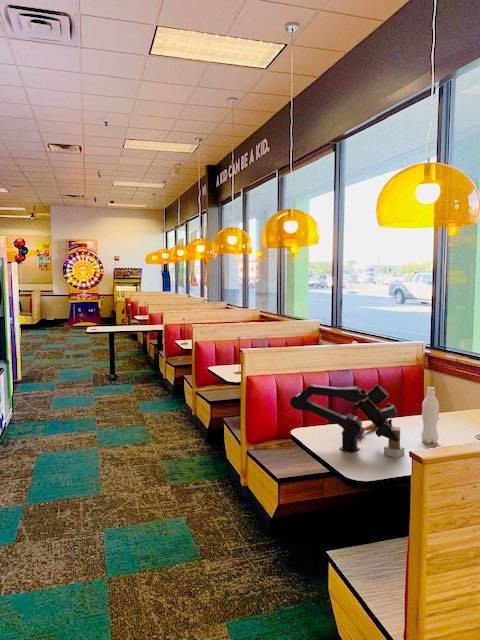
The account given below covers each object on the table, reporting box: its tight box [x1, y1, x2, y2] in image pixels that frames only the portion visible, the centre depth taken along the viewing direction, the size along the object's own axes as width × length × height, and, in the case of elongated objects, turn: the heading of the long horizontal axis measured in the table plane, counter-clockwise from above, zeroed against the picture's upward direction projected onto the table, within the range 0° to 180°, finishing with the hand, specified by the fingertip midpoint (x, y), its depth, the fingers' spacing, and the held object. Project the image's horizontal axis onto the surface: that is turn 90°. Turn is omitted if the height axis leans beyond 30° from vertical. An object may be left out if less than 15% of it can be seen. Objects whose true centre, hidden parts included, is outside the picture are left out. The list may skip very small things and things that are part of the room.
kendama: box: [356, 422, 376, 439], centre depth 229 cm, size 6×6×20 cm
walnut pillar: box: [387, 426, 401, 450], centre depth 202 cm, size 4×4×8 cm
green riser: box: [383, 444, 405, 459], centre depth 203 cm, size 6×6×3 cm
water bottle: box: [420, 386, 440, 445], centre depth 216 cm, size 7×7×25 cm
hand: (397, 439), depth 202 cm, fingers closed on walnut pillar, 4 cm apart
